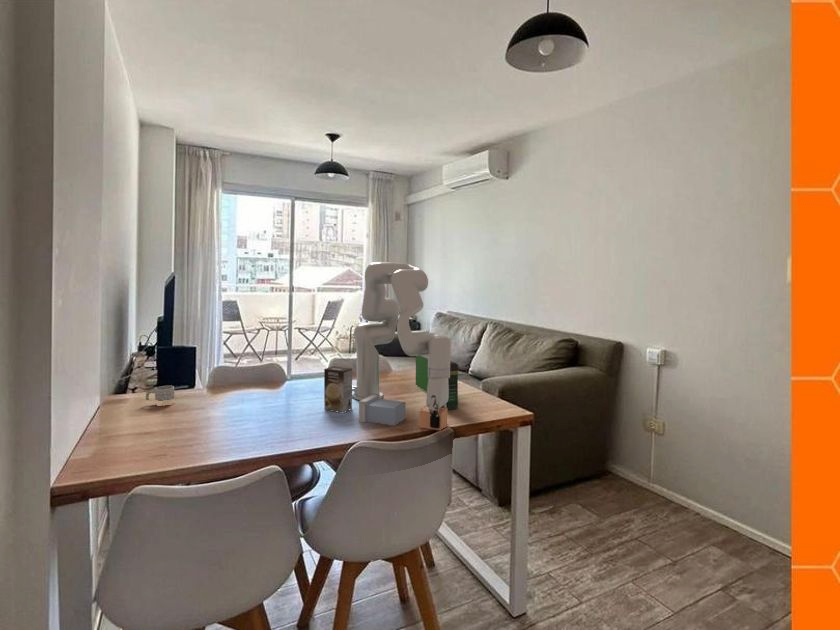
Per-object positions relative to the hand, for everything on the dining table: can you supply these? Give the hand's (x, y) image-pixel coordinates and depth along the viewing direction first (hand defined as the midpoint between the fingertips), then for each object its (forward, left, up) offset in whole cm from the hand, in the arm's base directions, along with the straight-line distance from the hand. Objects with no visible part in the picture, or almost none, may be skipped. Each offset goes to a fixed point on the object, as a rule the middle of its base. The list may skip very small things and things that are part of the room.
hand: (438, 424), depth 155 cm
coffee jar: (-5, +24, -1) cm, 25 cm away
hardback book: (-21, +48, -1) cm, 52 cm away
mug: (-110, -18, -1) cm, 112 cm away
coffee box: (-42, +4, -1) cm, 42 cm away
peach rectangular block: (-2, 0, -1) cm, 2 cm away
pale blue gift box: (-21, 0, -1) cm, 21 cm away
